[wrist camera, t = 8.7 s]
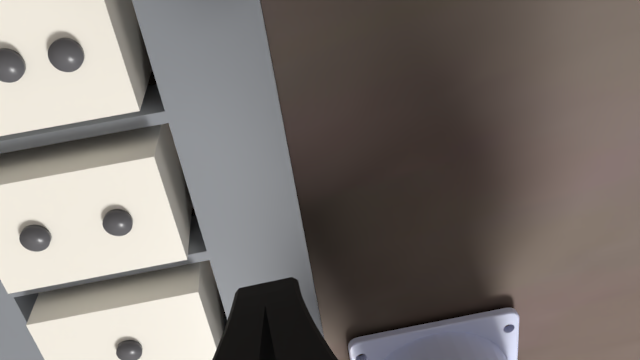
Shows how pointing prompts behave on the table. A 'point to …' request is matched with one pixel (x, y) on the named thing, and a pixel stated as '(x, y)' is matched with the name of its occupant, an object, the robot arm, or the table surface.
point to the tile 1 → (92, 208)
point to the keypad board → (203, 153)
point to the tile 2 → (132, 317)
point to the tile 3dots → (69, 62)
